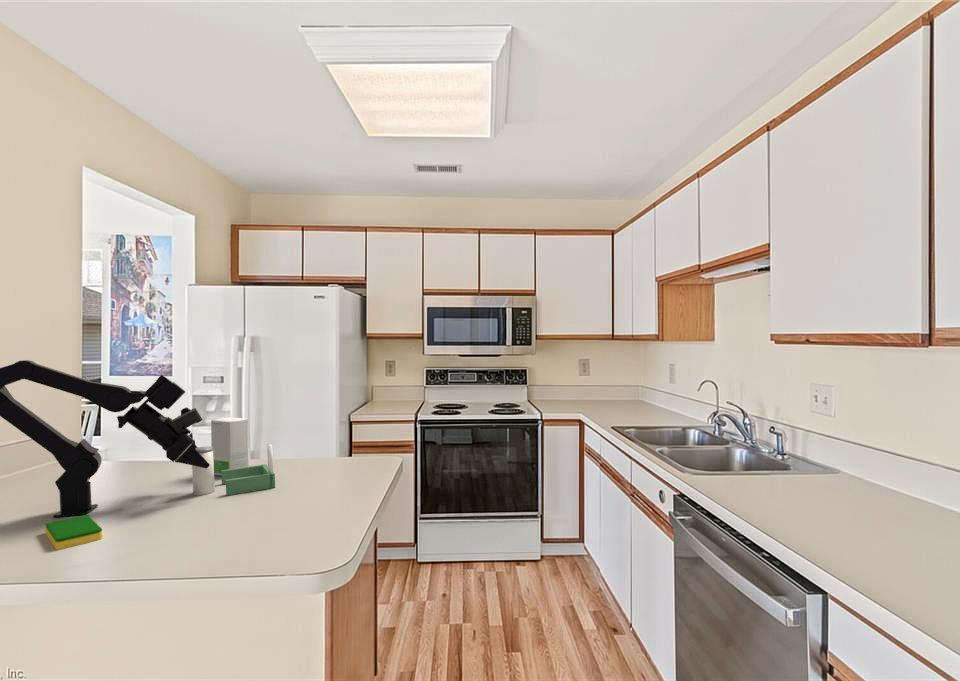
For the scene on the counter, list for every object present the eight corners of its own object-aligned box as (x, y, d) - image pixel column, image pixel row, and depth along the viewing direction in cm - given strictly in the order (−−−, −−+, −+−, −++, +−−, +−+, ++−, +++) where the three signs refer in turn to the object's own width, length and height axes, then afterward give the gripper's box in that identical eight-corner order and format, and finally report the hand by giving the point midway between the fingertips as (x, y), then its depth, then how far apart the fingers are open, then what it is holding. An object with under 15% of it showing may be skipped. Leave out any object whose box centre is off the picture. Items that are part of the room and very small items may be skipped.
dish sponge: (56, 552, 100) (55, 539, 100) (45, 535, 110) (45, 523, 110) (102, 541, 105) (102, 528, 105) (88, 525, 115) (88, 514, 115)
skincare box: (211, 475, 155) (208, 420, 155) (231, 469, 161) (229, 416, 161) (231, 477, 151) (228, 421, 151) (251, 471, 157) (248, 417, 157)
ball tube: (212, 494, 135) (210, 449, 135) (191, 496, 134) (189, 451, 134) (216, 488, 139) (214, 445, 139) (195, 491, 138) (193, 447, 138)
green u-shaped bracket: (226, 495, 133) (224, 452, 133) (221, 483, 145) (220, 443, 145) (275, 487, 139) (273, 446, 139) (266, 476, 150) (265, 438, 150)
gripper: (180, 401, 126) (235, 442, 132) (178, 395, 142) (227, 432, 148) (141, 440, 122) (199, 481, 128) (144, 429, 138) (195, 466, 144)
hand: (207, 463), depth 137 cm, fingers open, 9 cm apart
